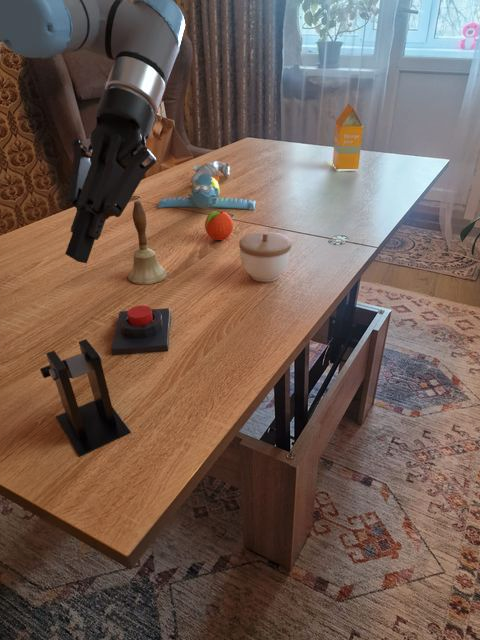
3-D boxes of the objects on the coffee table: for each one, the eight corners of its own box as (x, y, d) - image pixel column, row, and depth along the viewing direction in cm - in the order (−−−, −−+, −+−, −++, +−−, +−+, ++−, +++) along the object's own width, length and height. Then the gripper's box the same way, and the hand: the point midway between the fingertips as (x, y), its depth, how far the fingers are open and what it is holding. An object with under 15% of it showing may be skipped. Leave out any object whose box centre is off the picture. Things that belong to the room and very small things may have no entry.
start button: (127, 327, 80) (125, 318, 79) (130, 314, 83) (128, 306, 82) (152, 325, 80) (150, 316, 79) (153, 313, 83) (152, 304, 82)
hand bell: (141, 265, 107) (129, 193, 98) (174, 270, 105) (165, 197, 96) (120, 281, 101) (105, 206, 92) (155, 287, 99) (143, 211, 89)
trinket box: (275, 291, 97) (276, 248, 92) (230, 280, 101) (228, 237, 96) (298, 271, 105) (300, 229, 99) (255, 260, 109) (255, 220, 103)
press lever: (44, 381, 66) (37, 365, 66) (87, 365, 69) (81, 349, 69) (56, 385, 57) (48, 366, 56) (105, 366, 59) (98, 348, 59)
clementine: (218, 248, 115) (216, 219, 111) (197, 241, 118) (194, 213, 114) (239, 237, 120) (238, 209, 116) (218, 231, 123) (217, 204, 119)
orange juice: (353, 164, 175) (359, 103, 164) (358, 171, 168) (365, 108, 156) (331, 165, 175) (336, 104, 163) (336, 172, 168) (341, 108, 156)
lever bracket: (57, 422, 67) (31, 347, 59) (106, 402, 70) (87, 328, 63) (81, 462, 61) (55, 384, 53) (132, 438, 64) (115, 361, 57)
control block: (113, 360, 78) (108, 340, 76) (121, 321, 88) (117, 302, 86) (169, 356, 79) (166, 336, 77) (171, 318, 89) (168, 299, 87)
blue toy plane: (256, 168, 139) (252, 185, 127) (257, 198, 144) (252, 217, 132) (161, 167, 141) (148, 183, 129) (165, 196, 146) (152, 215, 134)
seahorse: (220, 187, 150) (236, 161, 164) (185, 173, 149) (204, 148, 163) (216, 201, 153) (232, 175, 168) (182, 187, 153) (201, 162, 167)
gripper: (181, 124, 69) (130, 277, 67) (108, 117, 74) (57, 260, 71) (156, 87, 62) (98, 256, 60) (76, 82, 67) (18, 239, 64)
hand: (76, 258), depth 65 cm, fingers closed
